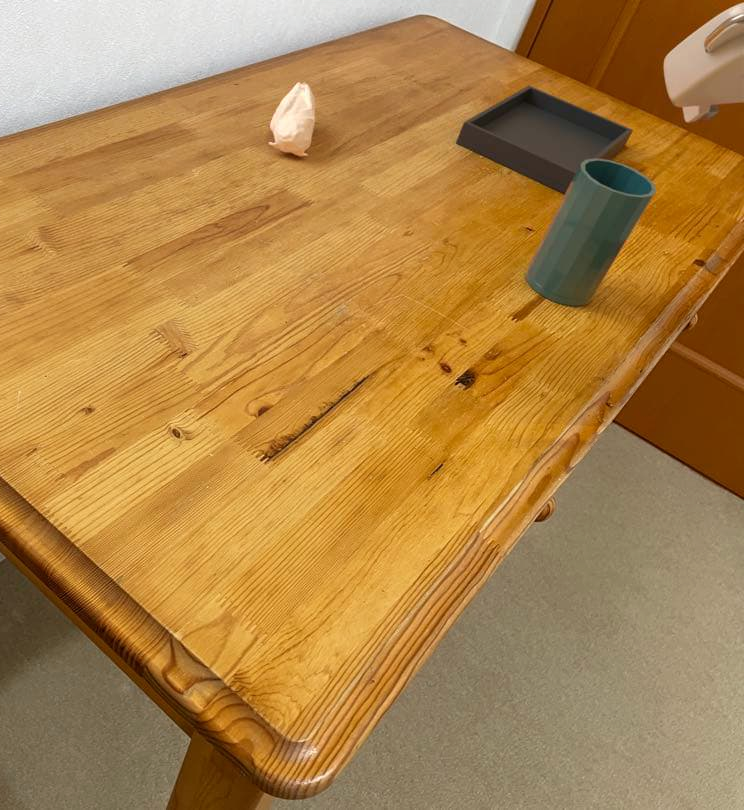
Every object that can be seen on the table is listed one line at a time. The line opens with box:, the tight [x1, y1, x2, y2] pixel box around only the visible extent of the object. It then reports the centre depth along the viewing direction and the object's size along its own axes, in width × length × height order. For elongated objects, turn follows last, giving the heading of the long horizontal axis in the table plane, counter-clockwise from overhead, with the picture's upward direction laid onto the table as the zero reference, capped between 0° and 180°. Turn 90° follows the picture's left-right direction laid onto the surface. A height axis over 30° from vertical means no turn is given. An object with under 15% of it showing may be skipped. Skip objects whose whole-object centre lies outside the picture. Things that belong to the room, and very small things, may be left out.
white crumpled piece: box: [268, 81, 316, 157], centre depth 96 cm, size 5×7×10 cm
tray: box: [455, 85, 634, 195], centre depth 109 cm, size 21×15×3 cm
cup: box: [524, 158, 657, 307], centre depth 81 cm, size 7×7×12 cm
